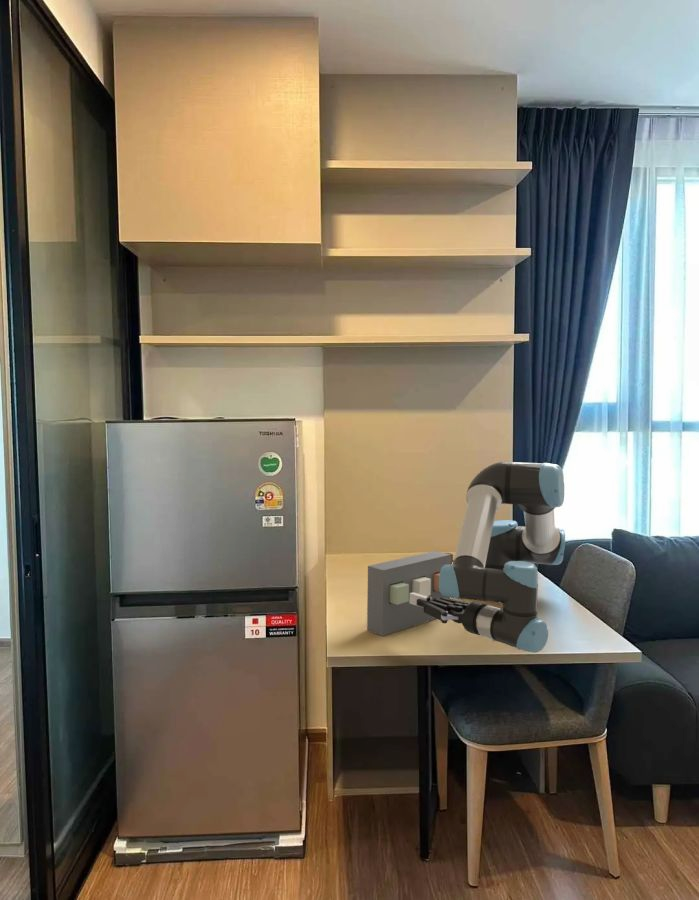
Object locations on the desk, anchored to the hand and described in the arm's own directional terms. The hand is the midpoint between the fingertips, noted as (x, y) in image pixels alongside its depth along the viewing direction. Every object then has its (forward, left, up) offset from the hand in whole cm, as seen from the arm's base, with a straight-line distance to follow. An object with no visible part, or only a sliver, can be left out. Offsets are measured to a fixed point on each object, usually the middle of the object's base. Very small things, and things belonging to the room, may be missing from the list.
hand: (411, 597), depth 176 cm
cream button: (-11, -2, -2) cm, 11 cm away
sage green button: (-3, -5, -2) cm, 6 cm away
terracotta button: (-19, +2, -2) cm, 19 cm away
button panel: (-11, -3, -11) cm, 16 cm away
